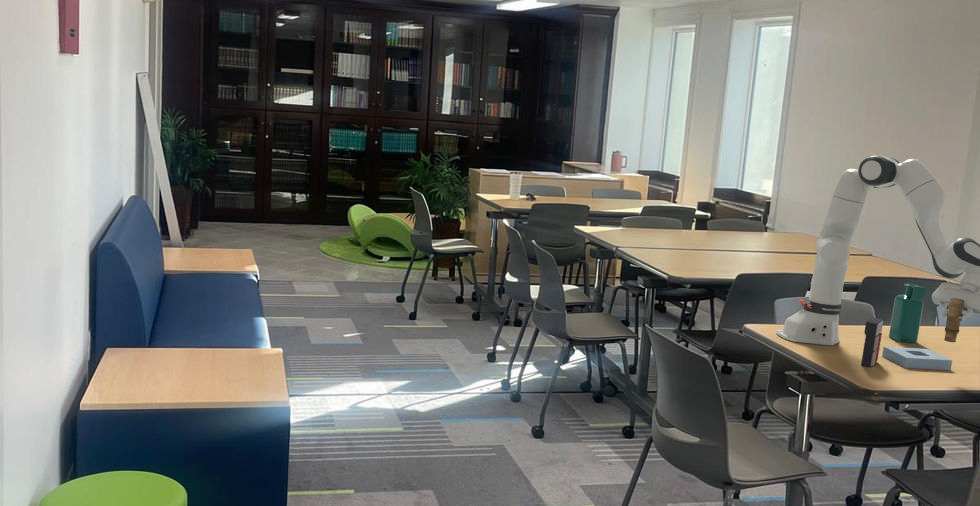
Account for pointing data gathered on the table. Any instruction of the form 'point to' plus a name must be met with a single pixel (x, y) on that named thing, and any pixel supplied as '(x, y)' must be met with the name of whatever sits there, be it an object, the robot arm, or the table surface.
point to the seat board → (917, 358)
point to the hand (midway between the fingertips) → (953, 317)
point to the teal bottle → (907, 314)
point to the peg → (953, 319)
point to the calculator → (872, 341)
